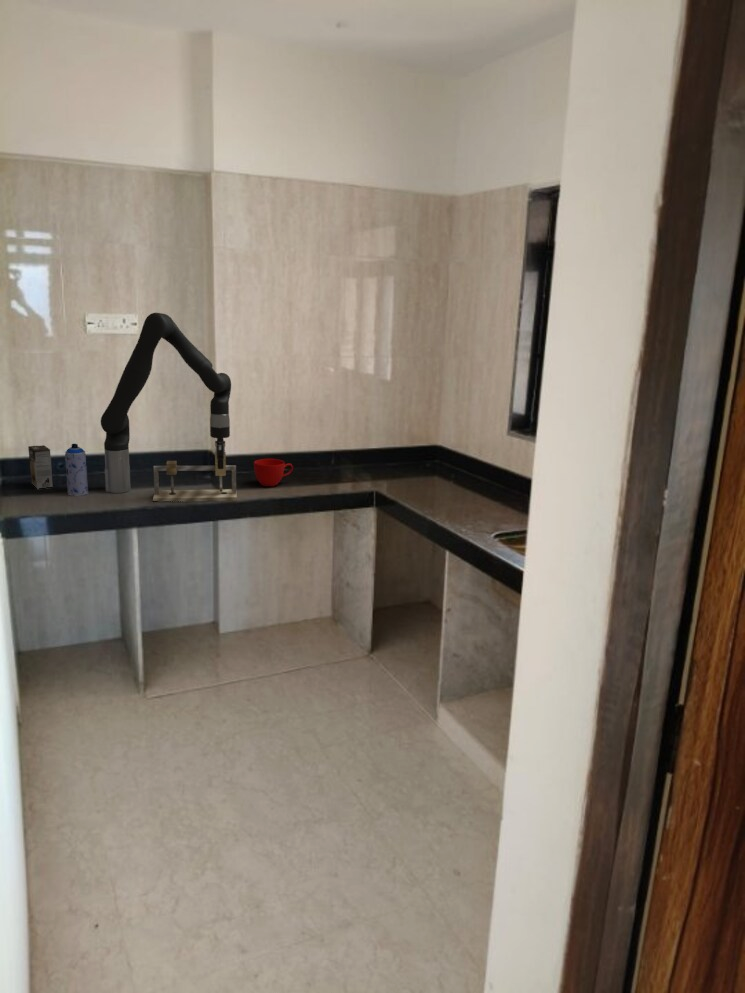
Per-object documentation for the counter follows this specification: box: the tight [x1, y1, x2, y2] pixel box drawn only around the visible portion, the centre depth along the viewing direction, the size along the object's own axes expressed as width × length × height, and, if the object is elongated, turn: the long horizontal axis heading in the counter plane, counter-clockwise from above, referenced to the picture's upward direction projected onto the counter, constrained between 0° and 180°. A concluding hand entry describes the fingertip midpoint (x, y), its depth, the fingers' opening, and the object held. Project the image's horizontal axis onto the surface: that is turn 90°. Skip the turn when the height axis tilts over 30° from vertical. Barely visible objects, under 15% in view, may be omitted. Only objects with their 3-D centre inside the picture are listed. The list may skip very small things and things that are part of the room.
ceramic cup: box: [253, 458, 294, 487], centre depth 321 cm, size 13×17×10 cm
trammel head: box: [214, 451, 227, 492], centre depth 297 cm, size 4×5×16 cm
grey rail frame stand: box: [152, 460, 238, 503], centre depth 296 cm, size 32×12×14 cm, turn 101°
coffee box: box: [28, 445, 54, 490], centre depth 303 cm, size 9×6×16 cm
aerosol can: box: [64, 443, 89, 496], centre depth 294 cm, size 8×8×20 cm
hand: (220, 466), depth 297 cm, fingers closed on trammel head, 5 cm apart
